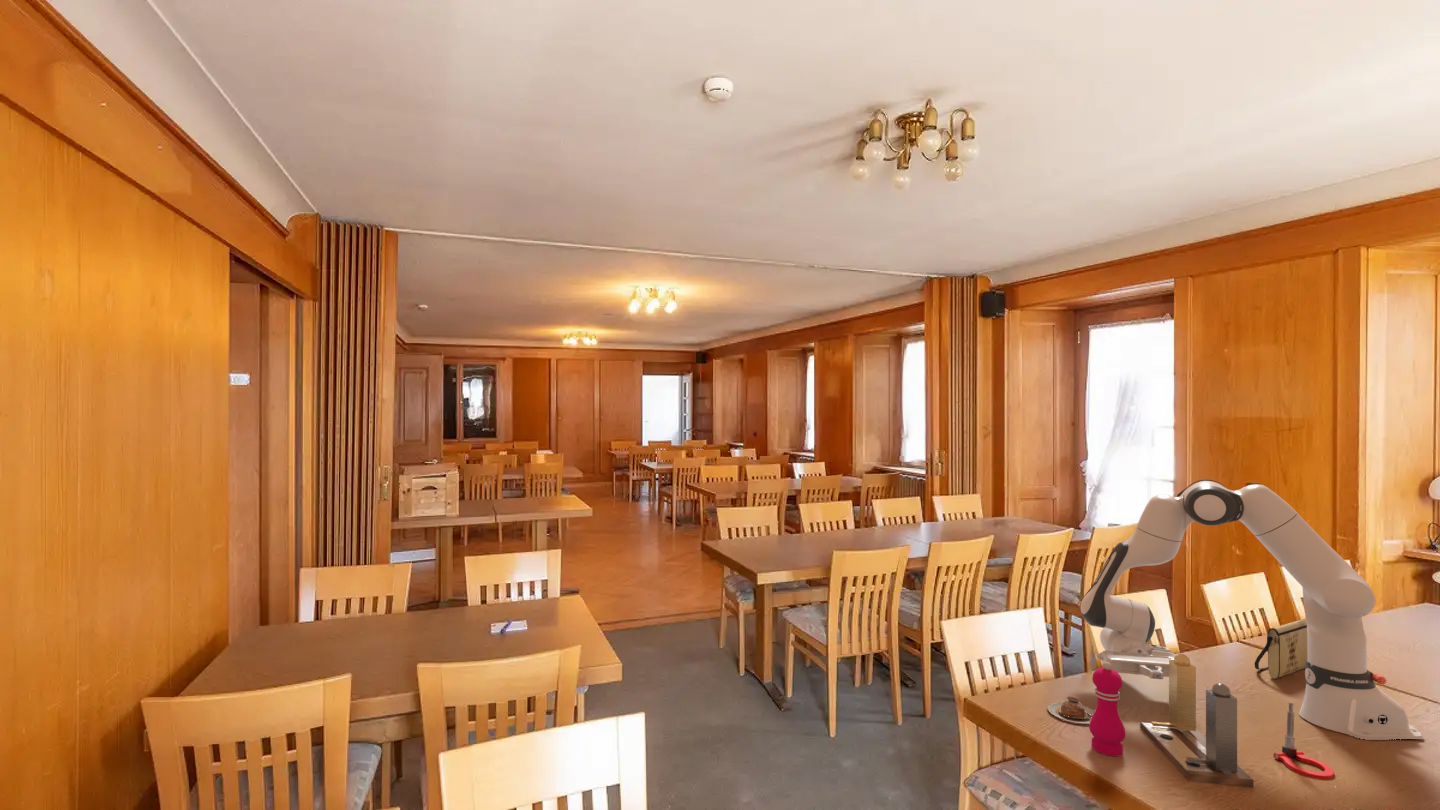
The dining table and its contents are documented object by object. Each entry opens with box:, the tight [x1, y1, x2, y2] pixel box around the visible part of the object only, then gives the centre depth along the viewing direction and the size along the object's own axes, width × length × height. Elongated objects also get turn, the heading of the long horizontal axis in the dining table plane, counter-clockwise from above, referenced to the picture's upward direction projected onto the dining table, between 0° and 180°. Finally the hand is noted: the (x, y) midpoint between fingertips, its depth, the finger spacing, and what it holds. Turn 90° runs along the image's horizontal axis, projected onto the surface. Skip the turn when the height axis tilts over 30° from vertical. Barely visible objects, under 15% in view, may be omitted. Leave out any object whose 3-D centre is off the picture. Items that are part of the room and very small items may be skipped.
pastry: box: [1047, 696, 1095, 725], centre depth 172 cm, size 12×12×5 cm
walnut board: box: [1139, 721, 1255, 788], centre depth 152 cm, size 12×24×2 cm, turn 169°
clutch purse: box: [1254, 617, 1307, 680], centre depth 204 cm, size 30×7×15 cm, turn 118°
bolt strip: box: [1142, 722, 1233, 775], centre depth 153 cm, size 9×22×1 cm, turn 169°
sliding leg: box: [1150, 653, 1197, 731], centre depth 161 cm, size 8×4×17 cm, turn 79°
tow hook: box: [1273, 701, 1335, 780], centre depth 147 cm, size 8×13×9 cm
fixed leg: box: [1186, 682, 1238, 773], centre depth 145 cm, size 8×4×18 cm, turn 79°
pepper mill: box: [1088, 662, 1126, 757], centre depth 155 cm, size 7×7×20 cm
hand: (1157, 675), depth 173 cm, fingers closed
